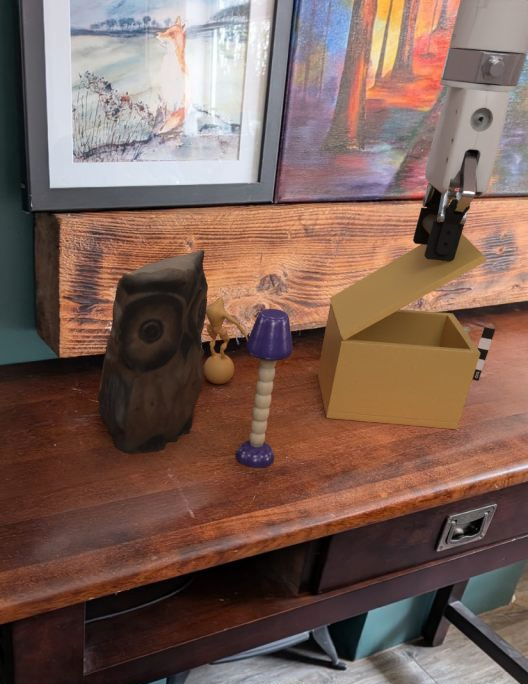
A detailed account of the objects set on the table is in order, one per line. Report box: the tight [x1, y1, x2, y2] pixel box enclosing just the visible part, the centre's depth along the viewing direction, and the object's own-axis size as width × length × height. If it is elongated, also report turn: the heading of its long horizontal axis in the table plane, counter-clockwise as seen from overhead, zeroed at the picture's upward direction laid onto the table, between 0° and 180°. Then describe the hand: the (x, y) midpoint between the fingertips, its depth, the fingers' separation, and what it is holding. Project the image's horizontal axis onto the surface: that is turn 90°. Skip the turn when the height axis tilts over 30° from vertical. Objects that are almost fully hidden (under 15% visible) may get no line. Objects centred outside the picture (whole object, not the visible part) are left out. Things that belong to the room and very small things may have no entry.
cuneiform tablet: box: [461, 324, 496, 381], centre depth 106 cm, size 7×4×12 cm
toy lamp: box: [235, 308, 293, 469], centre depth 78 cm, size 5×5×17 cm
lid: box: [329, 214, 487, 340], centre depth 88 cm, size 17×14×5 cm
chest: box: [317, 303, 480, 430], centre depth 94 cm, size 16×14×10 cm
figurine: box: [203, 296, 249, 385], centre depth 95 cm, size 8×6×12 cm
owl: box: [96, 249, 209, 455], centre depth 81 cm, size 13×13×20 cm
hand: (432, 250), depth 86 cm, fingers closed on lid, 6 cm apart
